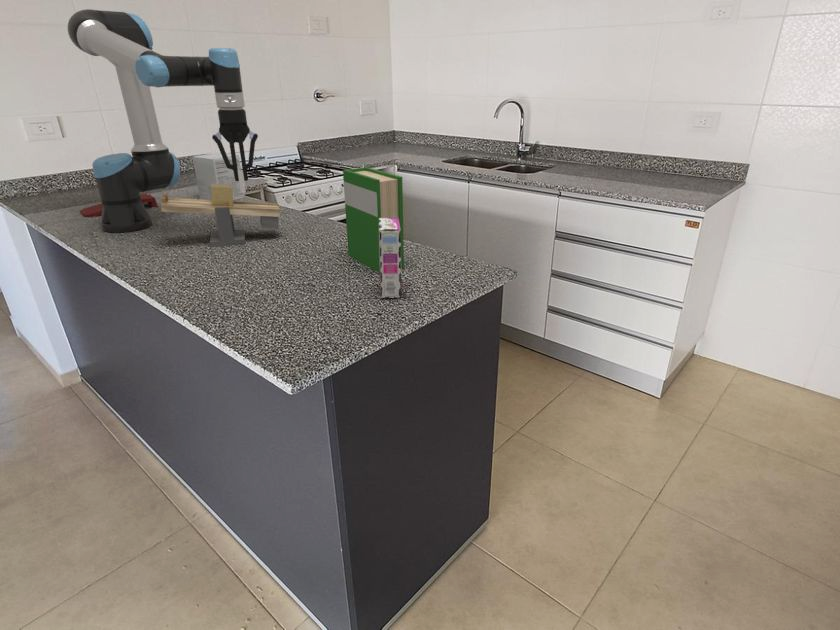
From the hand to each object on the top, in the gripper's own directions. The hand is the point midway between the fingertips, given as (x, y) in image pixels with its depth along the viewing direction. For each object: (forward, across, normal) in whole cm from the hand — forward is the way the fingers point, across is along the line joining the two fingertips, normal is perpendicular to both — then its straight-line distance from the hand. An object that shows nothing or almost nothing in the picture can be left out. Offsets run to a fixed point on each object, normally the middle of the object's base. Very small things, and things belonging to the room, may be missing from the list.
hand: (243, 191), depth 158 cm
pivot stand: (+15, -6, 0) cm, 16 cm away
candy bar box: (+15, +31, -56) cm, 66 cm away
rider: (+4, -6, 0) cm, 8 cm away
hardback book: (+15, +32, -35) cm, 50 cm away
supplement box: (+15, -10, +63) cm, 66 cm away
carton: (+16, -47, +56) cm, 74 cm away
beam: (+9, -7, 0) cm, 12 cm away
